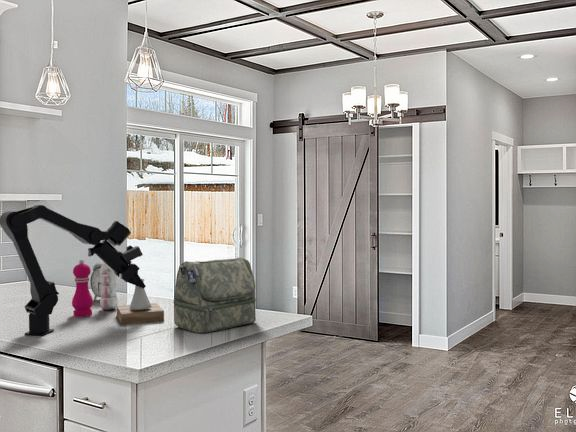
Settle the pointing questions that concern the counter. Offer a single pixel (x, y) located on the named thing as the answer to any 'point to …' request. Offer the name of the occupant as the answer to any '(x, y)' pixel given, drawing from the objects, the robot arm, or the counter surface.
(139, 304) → the flask
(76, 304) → the pepper mill
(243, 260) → the lunch bag
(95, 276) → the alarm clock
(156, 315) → the board
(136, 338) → the counter surface
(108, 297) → the plastic bottle
